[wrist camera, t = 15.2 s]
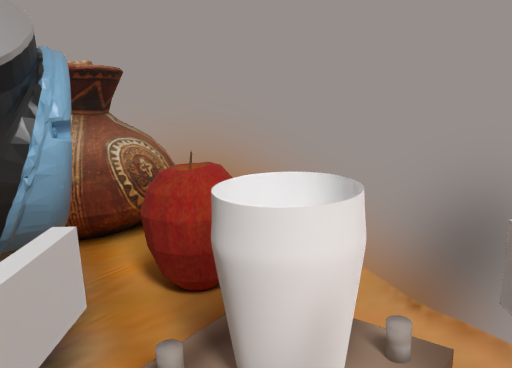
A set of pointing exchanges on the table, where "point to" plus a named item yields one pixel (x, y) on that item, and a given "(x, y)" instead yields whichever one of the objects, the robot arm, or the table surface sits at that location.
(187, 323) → the table surface
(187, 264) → the apple
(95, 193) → the jug
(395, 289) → the table surface
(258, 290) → the cup
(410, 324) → the peg stand
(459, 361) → the table surface
